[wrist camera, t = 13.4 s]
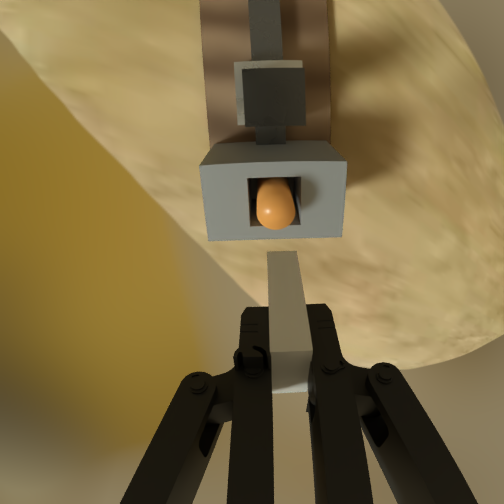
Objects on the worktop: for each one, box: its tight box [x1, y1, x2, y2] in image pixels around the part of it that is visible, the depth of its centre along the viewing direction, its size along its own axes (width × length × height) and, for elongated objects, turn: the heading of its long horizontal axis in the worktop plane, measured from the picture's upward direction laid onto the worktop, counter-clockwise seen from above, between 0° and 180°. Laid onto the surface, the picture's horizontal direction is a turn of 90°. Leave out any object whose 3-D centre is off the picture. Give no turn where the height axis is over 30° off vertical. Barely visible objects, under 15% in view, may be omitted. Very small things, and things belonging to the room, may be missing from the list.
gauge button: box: [257, 177, 295, 230], centre depth 28 cm, size 3×3×8 cm
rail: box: [248, 0, 286, 145], centre depth 26 cm, size 22×3×2 cm, turn 3°
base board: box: [199, 0, 331, 149], centre depth 28 cm, size 31×13×1 cm, turn 3°
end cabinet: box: [199, 140, 347, 241], centre depth 30 cm, size 7×12×9 cm, turn 93°
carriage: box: [234, 60, 306, 127], centre depth 23 cm, size 6×6×14 cm
